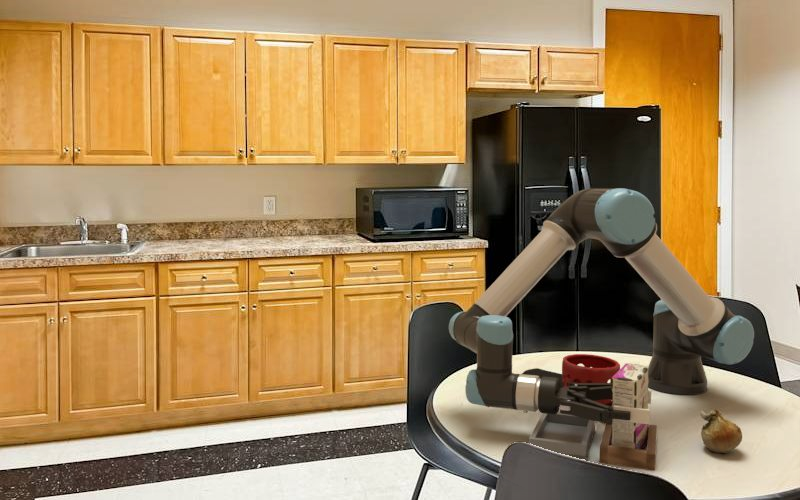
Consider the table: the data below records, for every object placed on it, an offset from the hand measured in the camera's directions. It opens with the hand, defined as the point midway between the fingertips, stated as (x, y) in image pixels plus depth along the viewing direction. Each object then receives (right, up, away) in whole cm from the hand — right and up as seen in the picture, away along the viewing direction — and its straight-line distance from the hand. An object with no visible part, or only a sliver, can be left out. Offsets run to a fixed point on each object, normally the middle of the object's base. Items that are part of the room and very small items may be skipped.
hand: (650, 406), depth 133 cm
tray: (-16, -9, +7) cm, 19 cm away
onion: (+15, -9, +2) cm, 17 cm away
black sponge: (-11, -6, +42) cm, 44 cm away
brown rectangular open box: (-3, -9, +2) cm, 10 cm away
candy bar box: (-3, -10, +3) cm, 10 cm away
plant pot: (-5, -7, +27) cm, 28 cm away
